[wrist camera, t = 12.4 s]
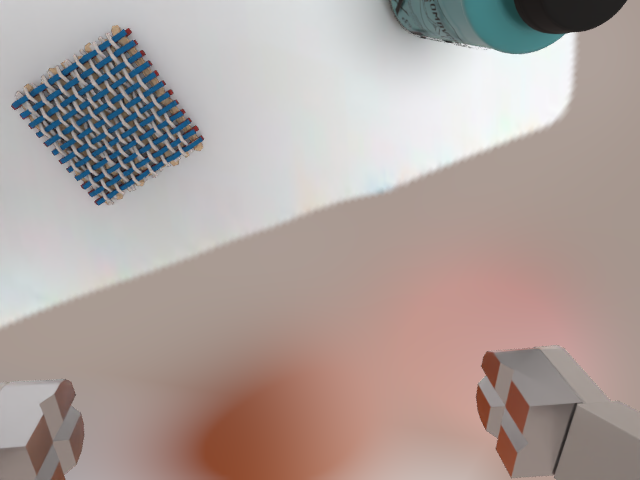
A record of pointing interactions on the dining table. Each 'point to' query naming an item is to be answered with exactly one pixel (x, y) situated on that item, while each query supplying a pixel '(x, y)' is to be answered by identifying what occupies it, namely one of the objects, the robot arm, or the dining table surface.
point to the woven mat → (109, 117)
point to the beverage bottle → (503, 20)
